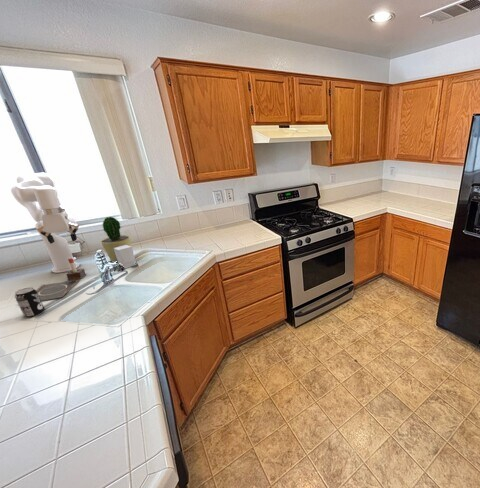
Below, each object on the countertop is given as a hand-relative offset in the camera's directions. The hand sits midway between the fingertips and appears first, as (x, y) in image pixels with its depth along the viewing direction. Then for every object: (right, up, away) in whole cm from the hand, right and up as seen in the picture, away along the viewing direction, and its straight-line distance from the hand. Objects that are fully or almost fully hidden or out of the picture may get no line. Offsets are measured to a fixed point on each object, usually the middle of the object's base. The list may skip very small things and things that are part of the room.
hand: (63, 241), depth 145 cm
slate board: (+1, -26, -7) cm, 27 cm away
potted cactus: (+7, -12, +32) cm, 35 cm away
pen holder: (0, -21, +8) cm, 22 cm away
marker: (0, -21, +8) cm, 22 cm away
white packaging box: (+19, -15, +23) cm, 33 cm away
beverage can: (+12, -33, -25) cm, 43 cm away
